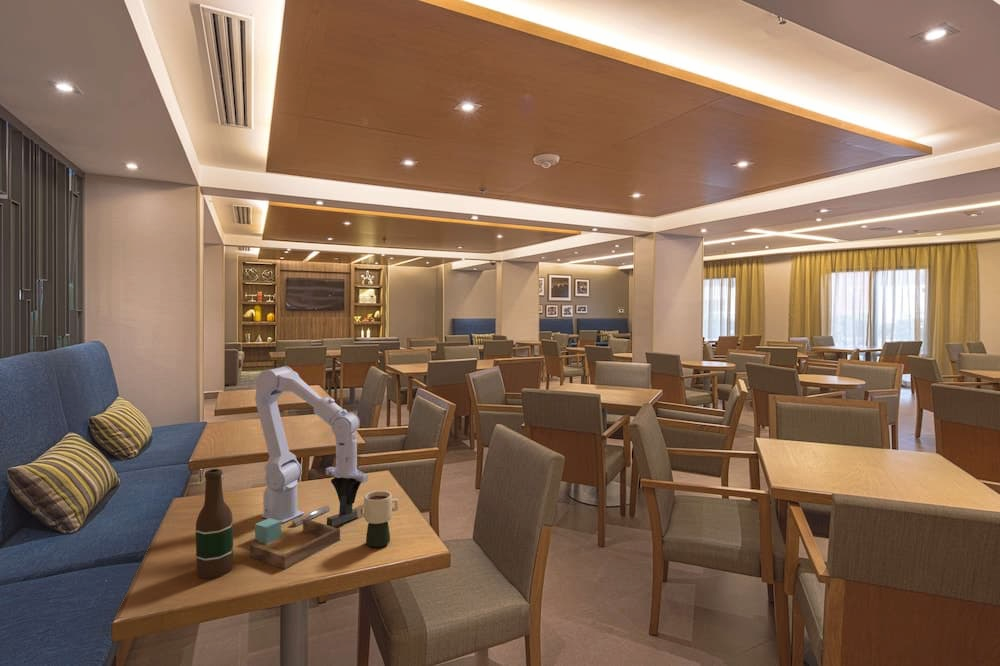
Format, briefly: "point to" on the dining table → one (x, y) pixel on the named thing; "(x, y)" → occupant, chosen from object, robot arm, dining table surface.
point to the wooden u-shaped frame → (284, 561)
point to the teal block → (268, 530)
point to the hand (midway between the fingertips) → (346, 502)
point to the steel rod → (310, 515)
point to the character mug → (377, 516)
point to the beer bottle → (214, 531)
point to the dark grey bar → (343, 513)
